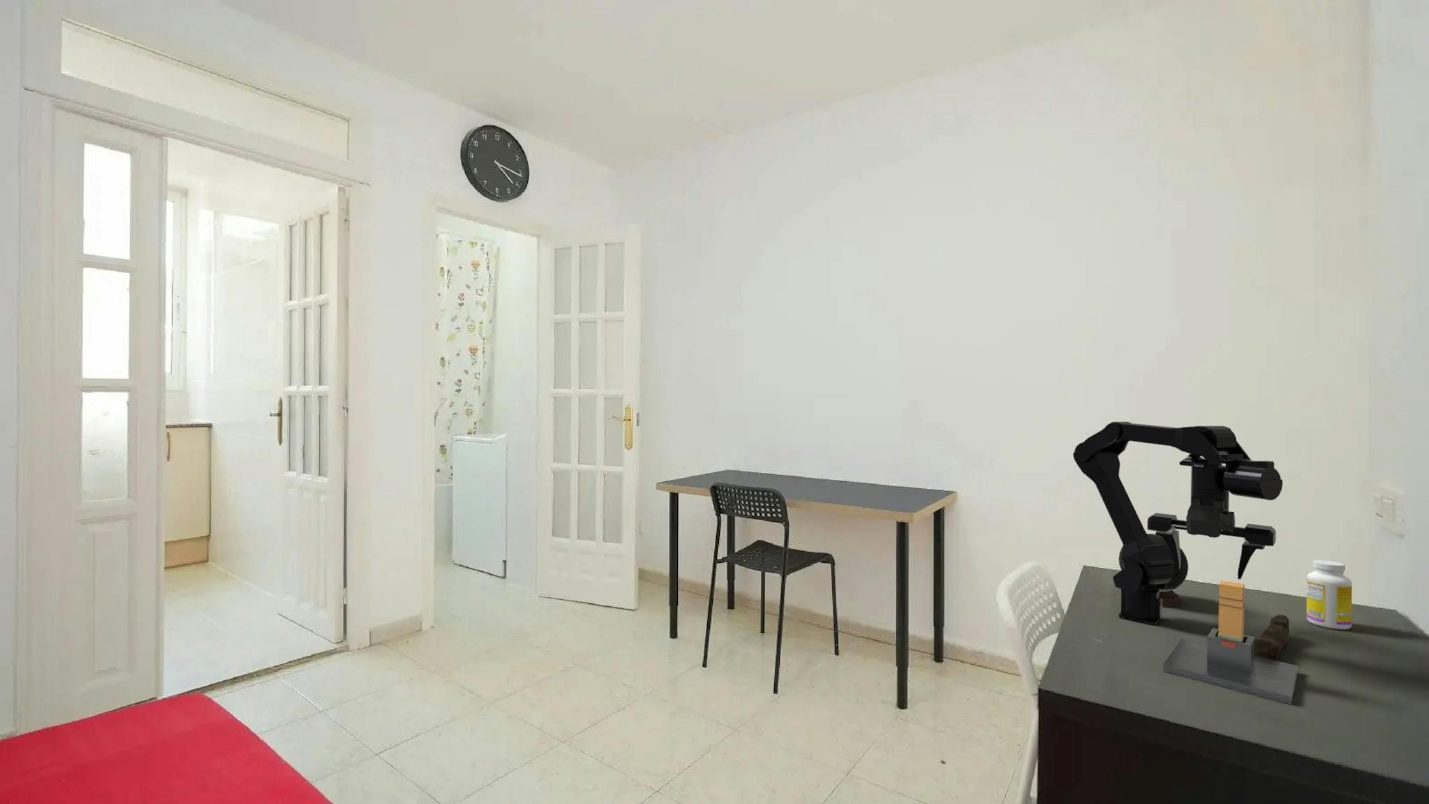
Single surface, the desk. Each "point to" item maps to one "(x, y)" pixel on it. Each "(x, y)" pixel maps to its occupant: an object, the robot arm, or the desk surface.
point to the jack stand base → (1233, 667)
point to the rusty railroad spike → (1273, 638)
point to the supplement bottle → (1329, 596)
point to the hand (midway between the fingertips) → (1208, 573)
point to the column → (1231, 611)
